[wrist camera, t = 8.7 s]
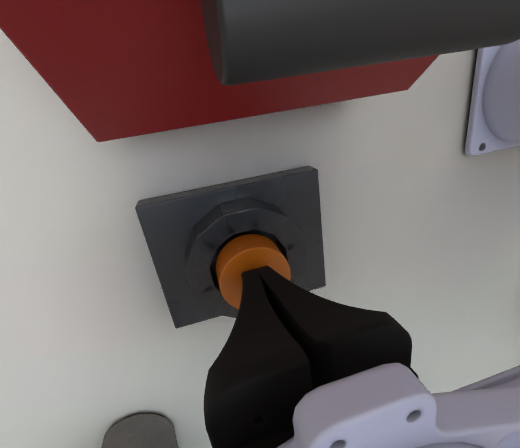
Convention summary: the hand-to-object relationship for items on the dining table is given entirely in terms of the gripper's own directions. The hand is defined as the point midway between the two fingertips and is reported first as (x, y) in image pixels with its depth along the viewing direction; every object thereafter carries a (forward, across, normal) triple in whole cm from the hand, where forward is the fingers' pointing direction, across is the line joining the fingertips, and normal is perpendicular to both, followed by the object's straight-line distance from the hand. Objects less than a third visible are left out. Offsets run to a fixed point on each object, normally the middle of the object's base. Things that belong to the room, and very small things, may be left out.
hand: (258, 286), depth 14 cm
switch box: (+5, 0, 0) cm, 5 cm away
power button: (+2, 0, 0) cm, 2 cm away
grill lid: (-5, -1, -12) cm, 13 cm away
